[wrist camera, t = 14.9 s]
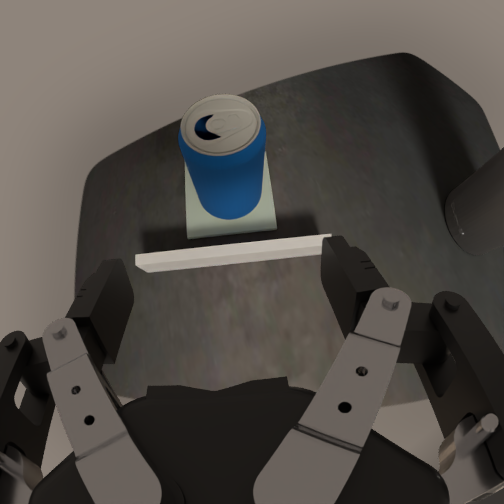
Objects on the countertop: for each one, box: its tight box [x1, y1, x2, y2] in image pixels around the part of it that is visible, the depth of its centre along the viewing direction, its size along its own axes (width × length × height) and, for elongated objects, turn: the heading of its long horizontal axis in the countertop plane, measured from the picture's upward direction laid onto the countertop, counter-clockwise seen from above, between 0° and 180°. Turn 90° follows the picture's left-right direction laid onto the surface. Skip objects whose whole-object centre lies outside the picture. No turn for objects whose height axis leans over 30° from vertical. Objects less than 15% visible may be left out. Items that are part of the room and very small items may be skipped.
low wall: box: [135, 234, 332, 272], centre depth 29 cm, size 18×1×4 cm, turn 96°
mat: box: [185, 152, 277, 239], centre depth 32 cm, size 9×9×1 cm
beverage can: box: [178, 94, 266, 220], centre depth 26 cm, size 6×6×12 cm
